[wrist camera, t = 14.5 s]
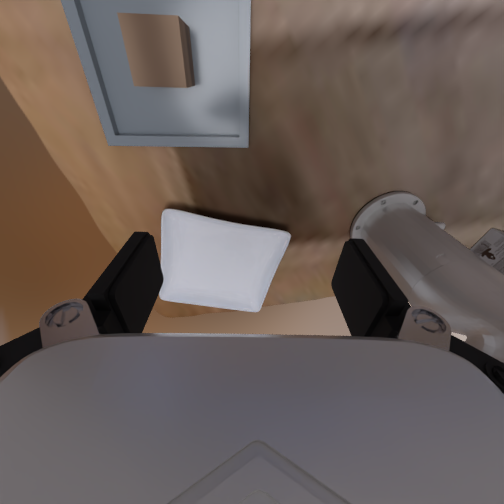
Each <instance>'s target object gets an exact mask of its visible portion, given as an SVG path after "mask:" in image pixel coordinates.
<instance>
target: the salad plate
mask: <svg viewBox="0 0 504 504" xmlns="http://www.w3.org/2000/svg"><path fill="white" fill-rule="evenodd" d="M290 238H291V234H290V233H288V232H287V231H283V230H278V229H272V228H265V227H258V226H251V225H245V224H239V223H234V222H228V221H224V220H219V219H215V218H210V217H206V216H202V215H198V214H194V213H190V212H186V211H182V210H176V209H165V210H164V211H163V212H162V217H161V269H162V273H163V278H164V280H163V285H162V287H161V289H160V292H159V296H160V298H161V299H162V300H165V301H172V302H179V303H187V304H195V305H202V306H210V307H218V308H226V309H233V310H241V311H249V312H258V311H259V310H260V309H261V306H262V304H263V302H264V299H265V296H266V294H267V291H268V289H269V286H270V284H271V281H272V279H273V277H274V274H275V272H276V270H277V267H278V265H279V263H280V261H281V259H282V257H283V255H284V253H285V251H286V248H287V246H288V244H289V241H290Z"/></svg>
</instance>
